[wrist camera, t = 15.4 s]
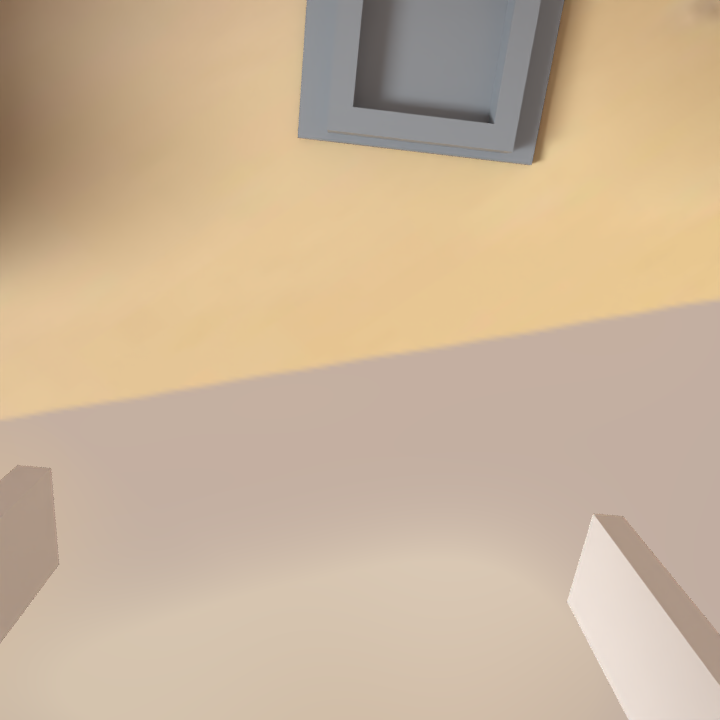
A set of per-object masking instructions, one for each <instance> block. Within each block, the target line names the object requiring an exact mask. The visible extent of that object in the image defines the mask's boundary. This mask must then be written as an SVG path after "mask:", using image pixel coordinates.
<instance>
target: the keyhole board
mask: <svg viewBox="0 0 720 720" xmlns="http://www.w3.org/2000/svg"><path fill="white" fill-rule="evenodd" d="M563 4H564V0H307V7H306V22H305V37H304V52H303V67H302V82H301V97H300V113H299V128H298V138H304V139H313V140H321V141H329V142H338V143H346V144H355V145H363V146H372V147H380V148H389V149H397V150H406V151H414V152H423V153H431V154H440V155H448V156H457V157H465V158H474V159H482V160H491V161H499V162H508V163H516V164H525V165H532V160H533V155H534V150H535V145H536V140H537V135H538V130H539V125H540V120H541V115H542V110H543V105H544V100H545V95H546V90H547V85H548V80H549V75H550V70H551V65H552V60H553V55H554V49H555V44H556V39H557V34H558V29H559V24H560V19H561V14H562V9H563Z"/></svg>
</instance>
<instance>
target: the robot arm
mask: <svg viewBox="0 0 720 720" xmlns="http://www.w3.org/2000/svg"><path fill="white" fill-rule="evenodd" d="M55 521H56V520H55V509H54V497H53V485H52V473H51V468H44V467H33V466H20V465H17V466H16V467H15V468H14V469H12V471H10V472H9V473H8V474H7V475H6V476H4V477H3V478H2V479H1V480H0V643H1V642H2V640H3V639H4V638H5V636H6V635H7V633H8V632H9V631H10V630H11V628H12V627H13V626H14V624H15V623H16V622H17V620H18V619H19V618H20V616H21V615H22V614H23V612H24V611H25V610H26V608H27V607H28V605H29V604H30V603H31V601H32V600H33V599H34V597H35V596H36V595H37V593H38V592H39V591H40V589H41V588H42V587H43V585H44V584H45V583H46V581H47V580H48V578H49V577H50V576H51V574H52V573H53V572H54V571H55V569H56V568H57V567H58V565H59V556H58V545H57V532H56V522H55ZM567 603H568V605H569V606H570V608H571V610H572V612H573V614H574V616H575V618H576V620H577V622H578V623H579V626H580V628H581V630H582V631H583V633H584V635H585V637H586V639H587V641H588V643H589V645H590V647H591V649H592V651H593V653H594V655H595V656H596V658H597V660H598V662H599V664H600V666H601V668H602V670H603V672H604V674H605V676H606V677H607V680H608V681H609V683H610V685H611V687H612V689H613V691H614V693H615V695H616V697H617V699H618V701H619V703H620V704H621V706H622V708H623V710H624V712H625V714H626V716H627V718H628V720H720V634H719V633H718V632H717V631H716V629H715V628H714V627H713V626H712V625H711V623H710V622H709V621H708V620H707V618H706V617H705V616H704V615H703V614H702V612H701V611H700V610H699V609H698V607H697V606H696V605H695V604H694V603H693V601H692V600H691V599H690V598H689V596H688V595H687V594H686V593H685V591H684V590H683V589H682V588H681V586H680V585H679V584H678V583H677V582H676V580H675V579H674V578H673V577H672V576H671V574H670V573H669V572H668V571H667V569H666V568H665V567H664V566H663V565H662V563H661V562H660V561H659V560H658V558H657V557H656V556H655V555H654V553H653V552H652V551H651V550H650V549H649V548H648V546H647V545H646V544H645V542H644V541H643V540H642V539H641V538H640V536H639V535H638V534H637V533H636V531H635V530H634V529H633V528H632V527H631V525H630V524H629V523H628V522H627V520H626V519H625V518H624V517H623V516H616V515H604V514H593V516H592V519H591V523H590V526H589V530H588V533H587V536H586V540H585V543H584V546H583V550H582V553H581V557H580V560H579V564H578V567H577V570H576V573H575V577H574V580H573V584H572V587H571V590H570V594H569V597H568V600H567Z"/></svg>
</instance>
